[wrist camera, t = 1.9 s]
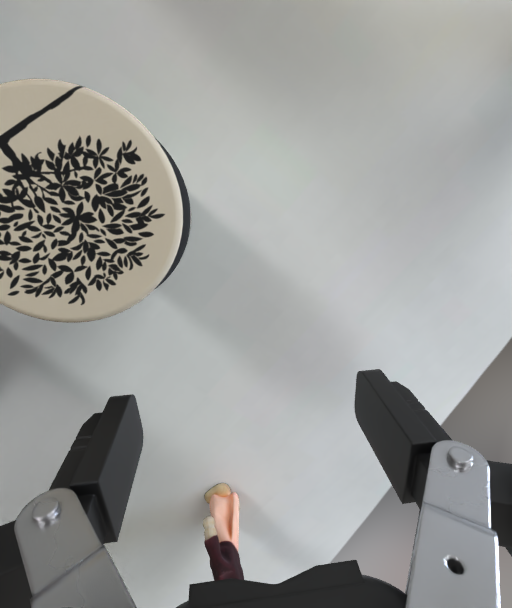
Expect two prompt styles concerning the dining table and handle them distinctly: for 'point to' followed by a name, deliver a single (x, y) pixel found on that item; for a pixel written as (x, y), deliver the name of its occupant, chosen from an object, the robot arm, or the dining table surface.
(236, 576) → the grandmother figurine
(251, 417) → the dining table surface
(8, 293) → the travel mug
